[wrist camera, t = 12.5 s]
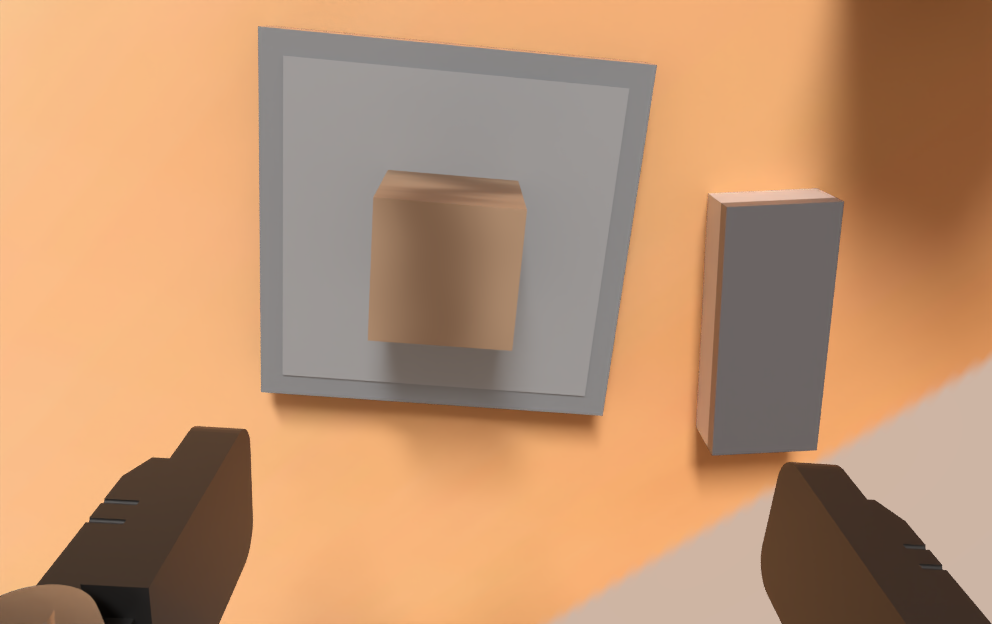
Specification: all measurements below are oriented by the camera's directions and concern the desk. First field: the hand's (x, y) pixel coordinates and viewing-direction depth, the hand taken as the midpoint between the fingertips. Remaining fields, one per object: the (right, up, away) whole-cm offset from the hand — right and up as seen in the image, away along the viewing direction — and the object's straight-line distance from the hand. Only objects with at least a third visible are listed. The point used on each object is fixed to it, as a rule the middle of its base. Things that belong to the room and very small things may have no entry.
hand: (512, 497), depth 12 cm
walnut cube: (-2, +6, +23) cm, 23 cm away
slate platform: (-2, +7, +25) cm, 26 cm away
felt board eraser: (+12, +3, +27) cm, 30 cm away
